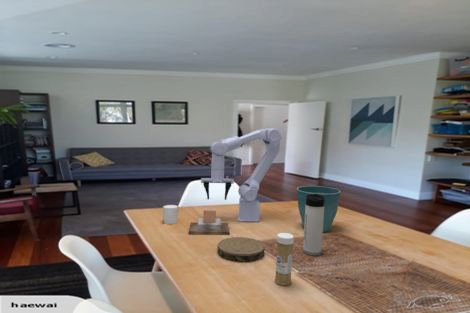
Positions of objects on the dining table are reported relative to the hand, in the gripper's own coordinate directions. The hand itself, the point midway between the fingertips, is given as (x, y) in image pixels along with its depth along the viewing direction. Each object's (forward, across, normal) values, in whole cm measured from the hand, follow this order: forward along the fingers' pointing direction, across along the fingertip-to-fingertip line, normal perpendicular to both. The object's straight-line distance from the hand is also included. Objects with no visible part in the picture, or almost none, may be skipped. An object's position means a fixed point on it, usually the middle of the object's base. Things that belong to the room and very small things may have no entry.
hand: (216, 199), depth 146 cm
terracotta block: (+6, -3, -13) cm, 14 cm away
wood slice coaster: (+10, +8, -37) cm, 39 cm away
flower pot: (+10, +43, -9) cm, 45 cm away
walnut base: (+10, -3, -13) cm, 17 cm away
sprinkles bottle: (+10, +18, -58) cm, 62 cm away
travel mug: (+10, +33, -36) cm, 50 cm away
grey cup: (+10, -20, -3) cm, 23 cm away
